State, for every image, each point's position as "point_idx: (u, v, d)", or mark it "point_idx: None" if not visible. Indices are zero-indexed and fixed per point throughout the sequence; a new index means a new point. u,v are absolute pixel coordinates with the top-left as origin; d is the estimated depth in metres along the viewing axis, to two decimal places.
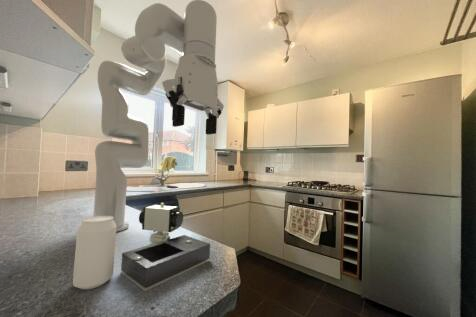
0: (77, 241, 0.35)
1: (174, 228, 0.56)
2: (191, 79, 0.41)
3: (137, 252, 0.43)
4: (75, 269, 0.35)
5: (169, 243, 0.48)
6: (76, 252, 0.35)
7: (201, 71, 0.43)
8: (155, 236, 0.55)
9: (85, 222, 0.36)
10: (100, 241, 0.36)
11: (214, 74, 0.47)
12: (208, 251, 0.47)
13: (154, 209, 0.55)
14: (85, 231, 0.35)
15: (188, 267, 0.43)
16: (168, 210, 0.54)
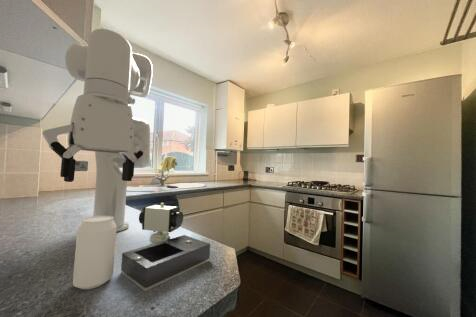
0: (77, 241, 0.35)
1: (174, 228, 0.56)
2: (85, 124, 0.35)
3: (137, 252, 0.43)
4: (75, 269, 0.35)
5: (169, 243, 0.48)
6: (76, 252, 0.35)
7: (102, 113, 0.37)
8: (155, 236, 0.55)
9: (85, 222, 0.36)
10: (100, 241, 0.36)
11: (127, 113, 0.40)
12: (208, 251, 0.47)
13: (154, 209, 0.55)
14: (85, 231, 0.35)
15: (188, 267, 0.43)
16: (168, 210, 0.54)
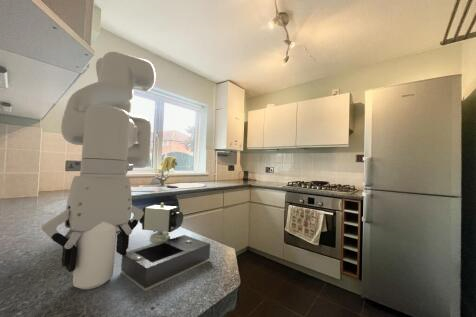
0: (77, 241, 0.35)
1: (174, 228, 0.56)
2: (82, 209, 0.34)
3: (137, 252, 0.43)
4: (75, 269, 0.35)
5: (169, 243, 0.48)
6: None
7: (100, 192, 0.36)
8: (155, 236, 0.55)
9: None
10: (100, 241, 0.36)
11: (125, 185, 0.40)
12: (208, 251, 0.47)
13: (154, 209, 0.55)
14: None
15: (188, 267, 0.43)
16: (168, 210, 0.54)
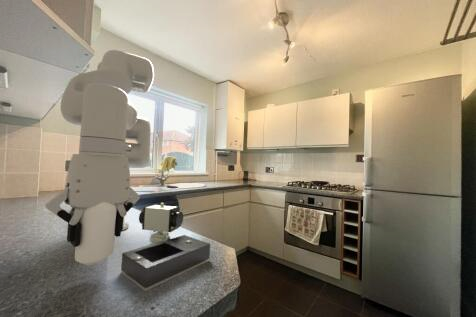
0: None
1: (174, 228, 0.56)
2: (80, 186, 0.35)
3: (137, 252, 0.43)
4: None
5: (169, 243, 0.48)
6: None
7: (98, 170, 0.36)
8: (155, 236, 0.55)
9: None
10: (101, 220, 0.37)
11: (123, 165, 0.40)
12: (208, 251, 0.47)
13: (154, 209, 0.55)
14: (86, 209, 0.36)
15: (188, 267, 0.43)
16: (168, 210, 0.54)
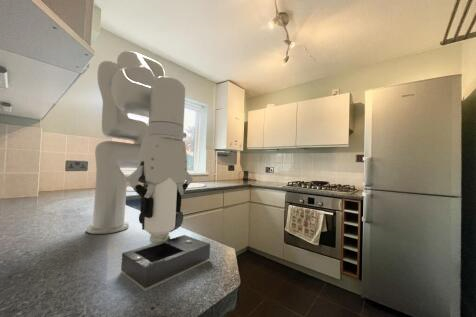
0: None
1: (174, 228, 0.56)
2: (154, 163, 0.40)
3: (137, 252, 0.43)
4: None
5: (169, 243, 0.48)
6: None
7: (166, 151, 0.42)
8: (155, 236, 0.55)
9: None
10: (168, 194, 0.41)
11: (182, 148, 0.45)
12: (208, 251, 0.47)
13: None
14: (156, 185, 0.41)
15: (188, 267, 0.43)
16: None
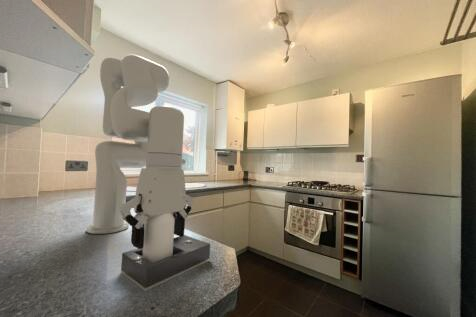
0: (146, 230, 0.41)
1: None
2: (151, 196, 0.39)
3: (137, 252, 0.43)
4: (145, 254, 0.40)
5: None
6: (146, 240, 0.41)
7: (164, 182, 0.41)
8: None
9: None
10: (165, 231, 0.41)
11: (181, 177, 0.45)
12: (208, 251, 0.47)
13: None
14: (153, 222, 0.40)
15: (188, 267, 0.43)
16: None
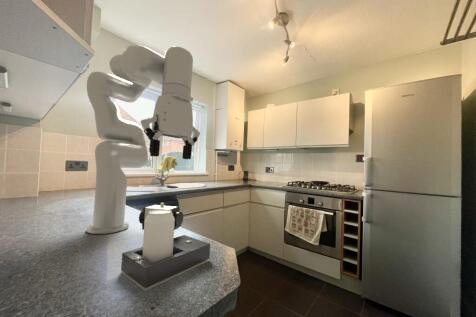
0: (146, 230, 0.41)
1: (174, 228, 0.56)
2: (166, 116, 0.49)
3: (137, 252, 0.43)
4: (145, 254, 0.40)
5: None
6: (145, 240, 0.41)
7: (176, 108, 0.51)
8: None
9: (152, 214, 0.41)
10: (165, 231, 0.41)
11: (189, 108, 0.54)
12: (208, 251, 0.47)
13: (154, 209, 0.55)
14: (153, 222, 0.41)
15: (188, 267, 0.43)
16: None
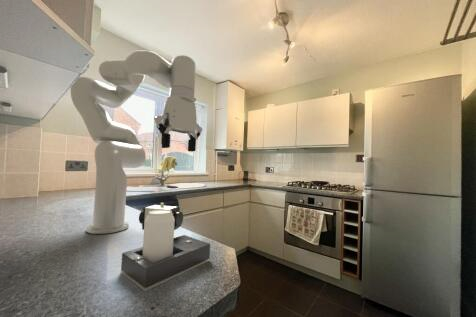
0: (146, 230, 0.41)
1: (174, 228, 0.56)
2: (175, 114, 0.58)
3: (137, 252, 0.43)
4: (145, 254, 0.40)
5: None
6: (145, 240, 0.41)
7: (182, 107, 0.60)
8: None
9: (152, 214, 0.41)
10: (165, 231, 0.41)
11: (193, 107, 0.63)
12: (208, 251, 0.47)
13: (154, 209, 0.55)
14: (153, 222, 0.41)
15: (188, 267, 0.43)
16: None
